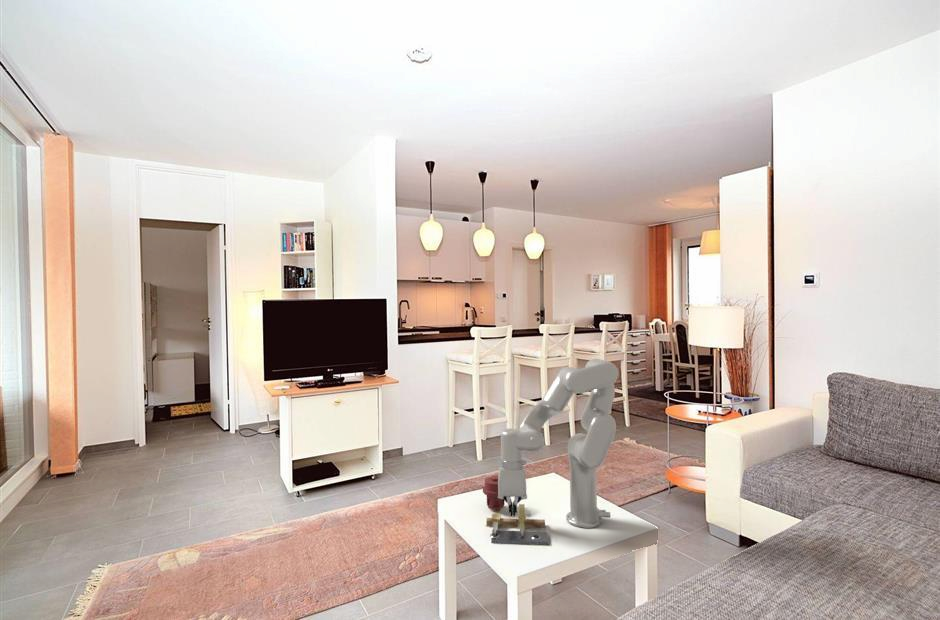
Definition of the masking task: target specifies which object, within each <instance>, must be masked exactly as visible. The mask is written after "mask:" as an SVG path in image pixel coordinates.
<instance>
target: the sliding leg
mask: <svg viewBox="0 0 940 620" xmlns="http://www.w3.org/2000/svg"><path fill="white" fill-rule="evenodd" d="M525 506H526V505H525V503H524V504H522V503H518V514H517V519H518V527H517V529H519V531H520V534H521V536H522V537H523V534H524V531H525V529H527V528H526V519H527V514H526V512H525V511H526V509H525Z"/></svg>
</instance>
